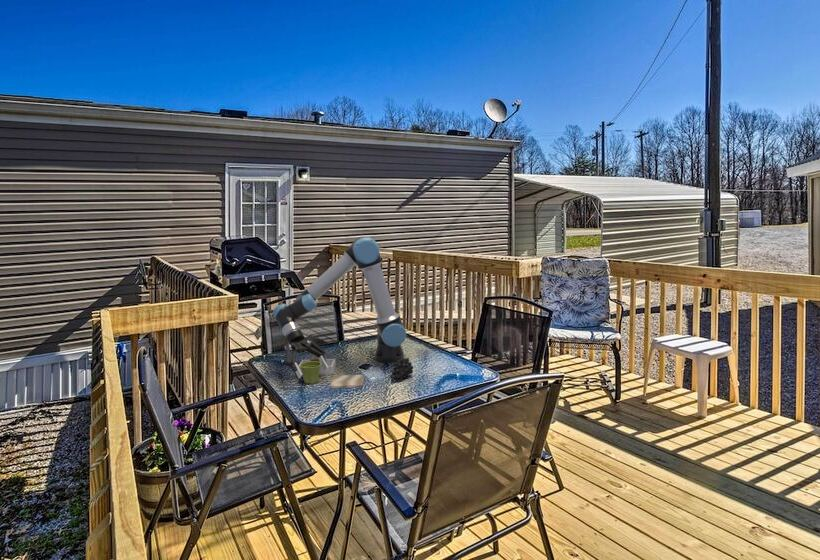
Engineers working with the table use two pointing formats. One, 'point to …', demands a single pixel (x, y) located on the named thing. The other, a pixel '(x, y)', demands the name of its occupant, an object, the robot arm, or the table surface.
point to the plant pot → (311, 371)
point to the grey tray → (329, 363)
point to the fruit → (401, 369)
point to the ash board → (347, 381)
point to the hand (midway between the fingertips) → (313, 372)
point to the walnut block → (315, 359)
